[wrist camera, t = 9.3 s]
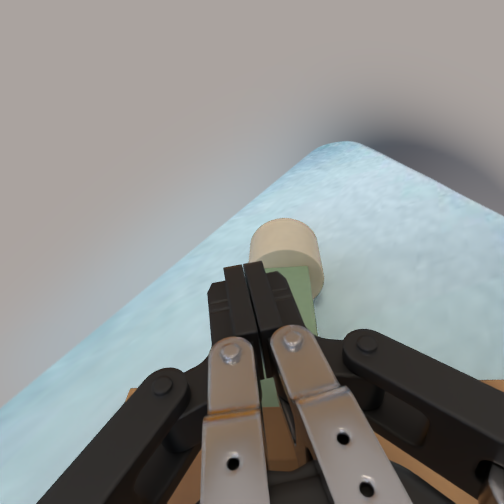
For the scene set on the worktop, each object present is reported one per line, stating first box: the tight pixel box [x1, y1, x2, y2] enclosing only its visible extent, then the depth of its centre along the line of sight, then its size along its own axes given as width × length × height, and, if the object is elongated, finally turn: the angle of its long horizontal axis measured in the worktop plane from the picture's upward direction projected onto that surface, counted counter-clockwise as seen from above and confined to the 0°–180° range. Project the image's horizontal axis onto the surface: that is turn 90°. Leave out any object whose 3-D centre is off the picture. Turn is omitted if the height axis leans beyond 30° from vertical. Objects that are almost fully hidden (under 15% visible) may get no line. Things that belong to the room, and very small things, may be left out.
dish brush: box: [249, 218, 324, 471], centre depth 20 cm, size 5×5×16 cm
